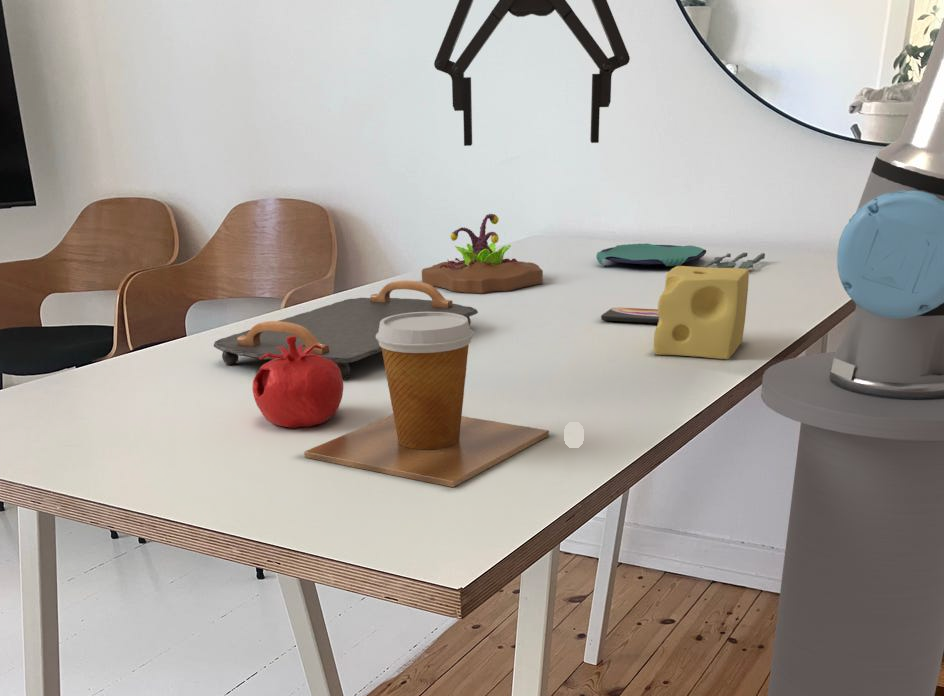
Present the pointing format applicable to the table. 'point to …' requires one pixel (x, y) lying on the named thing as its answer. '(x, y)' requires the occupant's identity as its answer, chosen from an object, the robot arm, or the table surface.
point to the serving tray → (337, 327)
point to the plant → (482, 267)
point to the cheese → (702, 312)
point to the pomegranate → (298, 387)
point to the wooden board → (429, 450)
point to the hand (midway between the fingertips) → (531, 143)
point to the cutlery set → (667, 255)
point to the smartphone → (631, 315)
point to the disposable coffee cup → (426, 375)
